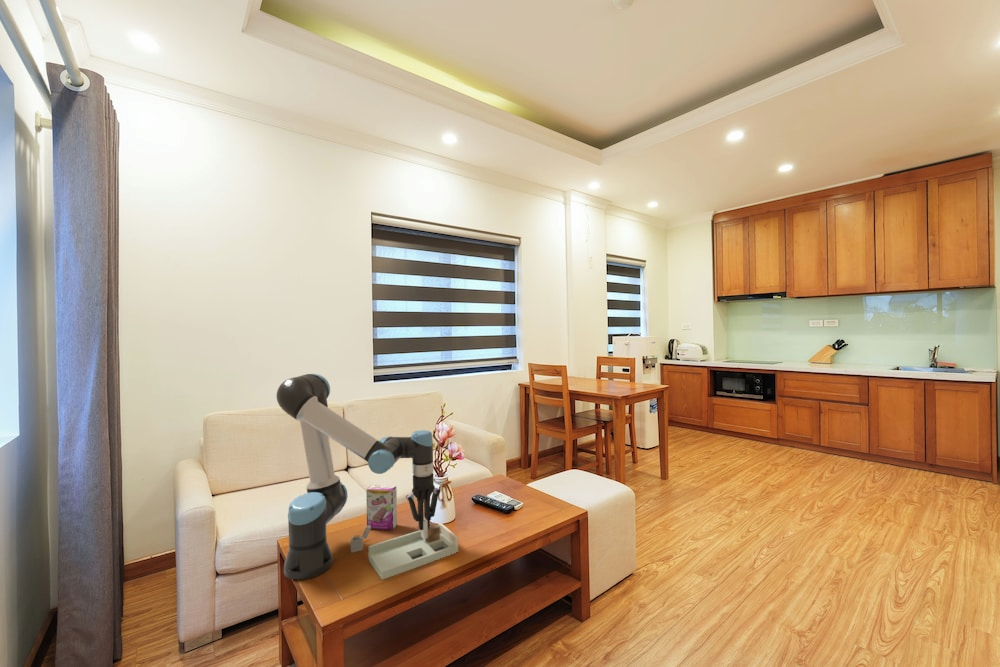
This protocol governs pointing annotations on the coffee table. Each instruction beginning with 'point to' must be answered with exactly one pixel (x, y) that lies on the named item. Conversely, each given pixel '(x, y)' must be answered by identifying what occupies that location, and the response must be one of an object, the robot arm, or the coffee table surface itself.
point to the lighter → (359, 540)
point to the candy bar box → (382, 507)
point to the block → (433, 533)
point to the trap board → (410, 552)
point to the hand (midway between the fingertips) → (424, 537)
